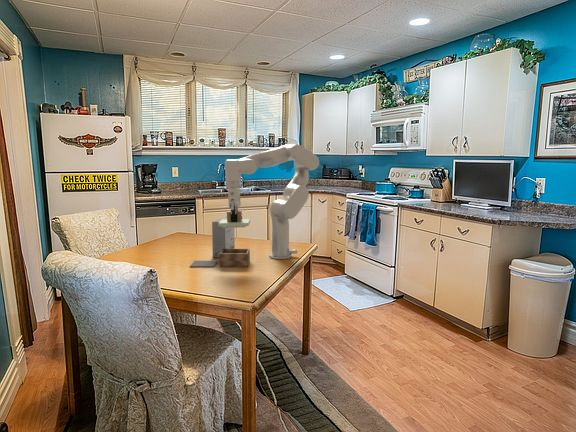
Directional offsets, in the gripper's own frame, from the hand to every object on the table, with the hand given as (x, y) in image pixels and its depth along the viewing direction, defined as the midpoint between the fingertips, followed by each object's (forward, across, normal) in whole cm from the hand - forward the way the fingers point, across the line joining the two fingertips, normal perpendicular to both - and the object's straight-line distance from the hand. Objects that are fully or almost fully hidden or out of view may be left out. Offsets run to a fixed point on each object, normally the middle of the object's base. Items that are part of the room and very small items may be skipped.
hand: (234, 220), depth 185 cm
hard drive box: (+23, +20, +10) cm, 32 cm away
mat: (+23, 0, +16) cm, 28 cm away
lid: (+2, 0, 0) cm, 2 cm away
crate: (+23, 0, 0) cm, 23 cm away
